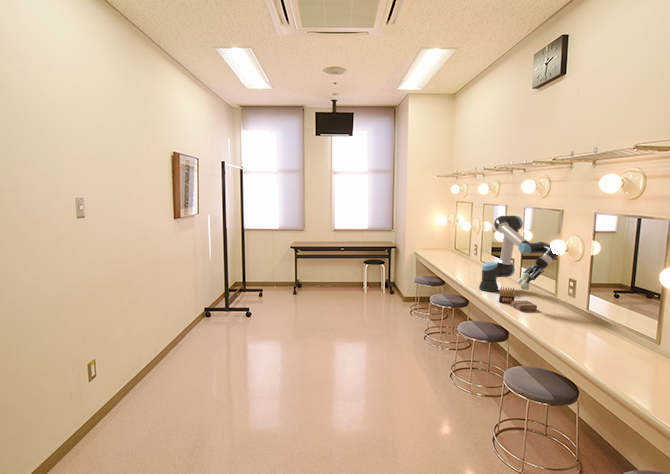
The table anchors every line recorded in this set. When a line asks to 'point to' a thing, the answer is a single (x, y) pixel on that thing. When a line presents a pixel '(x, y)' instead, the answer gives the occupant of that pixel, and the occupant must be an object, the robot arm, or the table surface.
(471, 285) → the table surface
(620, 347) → the table surface
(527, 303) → the walnut plinth
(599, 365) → the table surface
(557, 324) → the table surface
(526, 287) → the sage cylinder
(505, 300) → the ammunition clip
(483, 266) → the robot arm
